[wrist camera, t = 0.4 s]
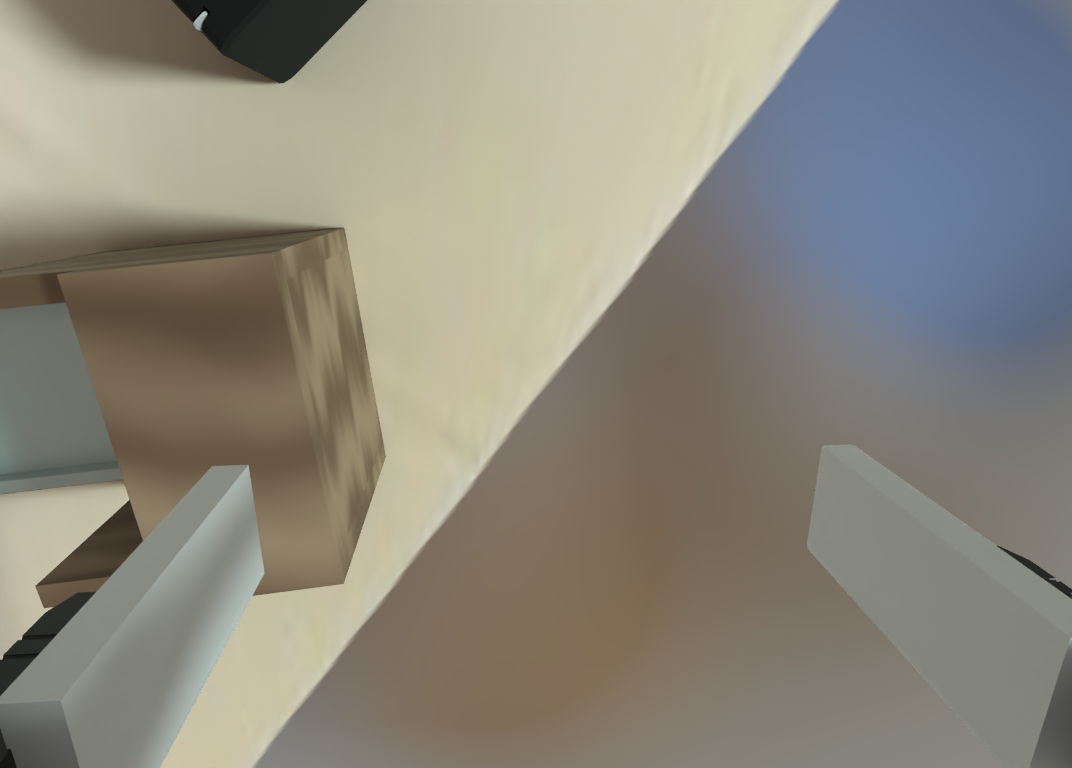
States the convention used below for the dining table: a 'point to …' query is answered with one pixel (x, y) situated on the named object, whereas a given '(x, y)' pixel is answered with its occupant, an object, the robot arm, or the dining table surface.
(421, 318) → the dining table surface
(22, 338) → the teal drawer
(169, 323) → the wooden drawer box
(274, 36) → the electronic device
